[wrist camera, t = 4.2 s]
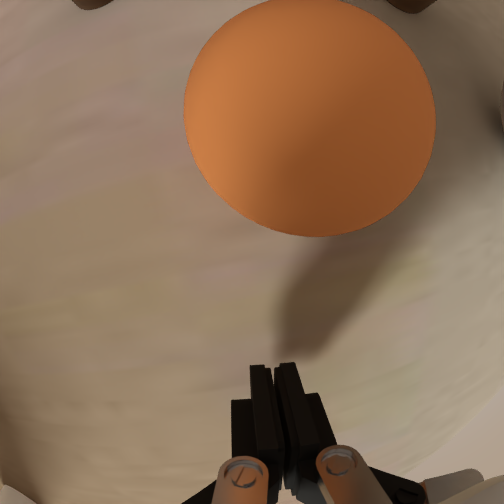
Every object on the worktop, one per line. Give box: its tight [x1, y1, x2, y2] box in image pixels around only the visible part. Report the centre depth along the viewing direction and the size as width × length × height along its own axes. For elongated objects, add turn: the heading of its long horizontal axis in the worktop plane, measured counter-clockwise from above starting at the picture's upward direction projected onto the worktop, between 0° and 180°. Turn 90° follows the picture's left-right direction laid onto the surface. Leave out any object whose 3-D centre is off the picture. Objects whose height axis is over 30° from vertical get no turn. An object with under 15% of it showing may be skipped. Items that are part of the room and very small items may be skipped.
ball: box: [184, 0, 436, 237], centre depth 6 cm, size 6×6×6 cm
